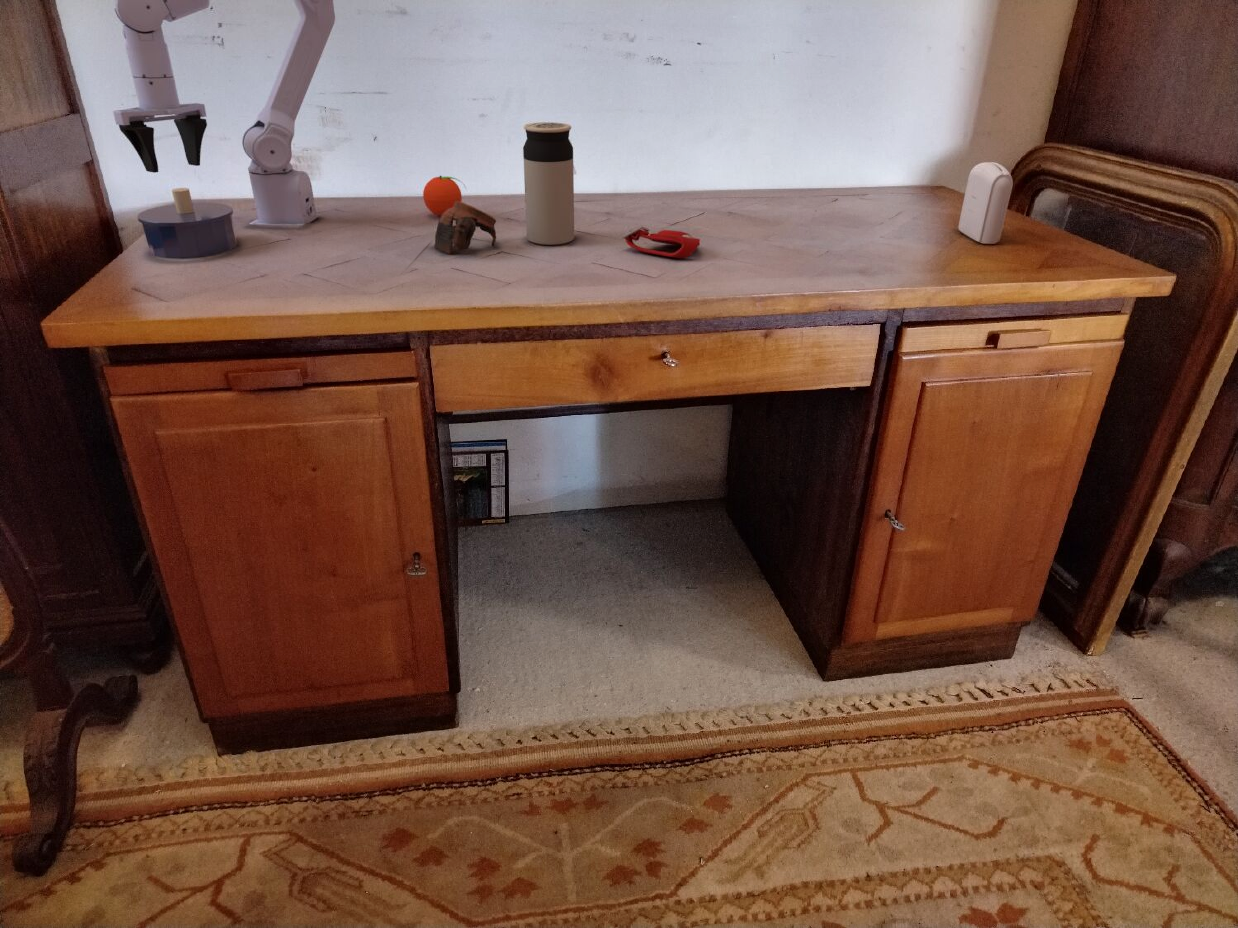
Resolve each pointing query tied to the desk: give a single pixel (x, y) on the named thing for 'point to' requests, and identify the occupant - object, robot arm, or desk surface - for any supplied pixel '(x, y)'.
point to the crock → (191, 239)
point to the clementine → (441, 194)
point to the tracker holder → (664, 241)
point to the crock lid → (184, 211)
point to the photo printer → (986, 202)
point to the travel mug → (549, 183)
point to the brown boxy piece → (462, 227)
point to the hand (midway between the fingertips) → (173, 168)
